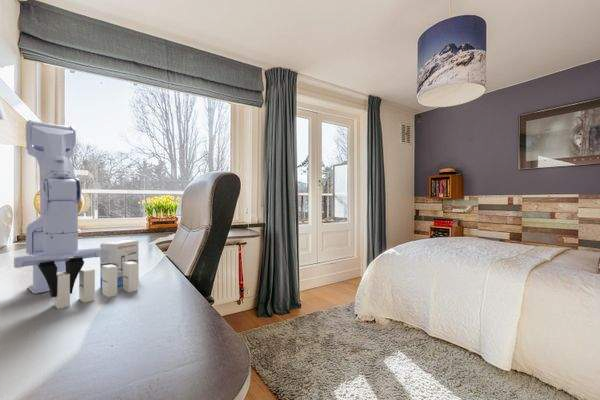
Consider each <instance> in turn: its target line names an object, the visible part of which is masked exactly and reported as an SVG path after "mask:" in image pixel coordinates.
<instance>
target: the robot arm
mask: <svg viewBox="0 0 600 400" xmlns="http://www.w3.org/2000/svg"><path fill="white" fill-rule="evenodd" d="M76 134H77V133H76V129H75V127H74V126H72V125H70V126H67V125H60V124H54V123H47V122H41V121H35V120H32V119H28V120H26V122H25V145H26V146H25V149H26V151H27V155H30V156H31V157H33V158H36V161H37V164H38V166H39V167H38V168H39V203H40V204H39V206H40V207H39V213H40V214H39V215H40V217H39V218H37V219H36V220H33V221H32V222H30V223H29V224H28V225H27V226H26V229H25V232H26V233H25V253H26V254H27V255H23V256H16V257H13V267H14V268H15V269H19V268H23V267H29V266H32V284H29V285H27V288H28V289H29V290H30V291H31V293H32V294H36V295H37V294H40V293H46V292H49V294H50V297H51V298H54V297H57V285H56V277H57V272H64V271H66V272H67V273H69V274H70V295H72V294H73V291H74V290H73V289H74V287H75V283H76V280H77V278H78V276H79V271H80V270H81V269H83V266H84V264H85V261H84V259H91V258H100V257H101V249H100V247H97V248H88V249H87V248H86V249H84V248H83V249H78V248H79V241H78V240H79V238H78V237H79V233H78V232H79V231H78V230H79V228H78V227H79V226H78V225H79V223H78V221H79V219H78V217H79V214H78V213H79V211H78V209H79V204H80V203H81V199H82V185H81V181H80V179H79V178H78V177H77V176H76V175H75V170H74V164H73V162H72V161H71V160H70V158H72V155H73V154H74V150H75V147H76V142H77V141H76V140H77V135H76Z"/></svg>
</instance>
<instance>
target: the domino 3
mask: <svg viewBox="0 0 600 400" xmlns="http://www.w3.org/2000/svg"><path fill="white" fill-rule="evenodd" d="M101 288H102V289H101V290H102V291H101V292H102V293H101V294H102V296H105V297H107V298H110V297H115V296H118V287H117V266H115V265H112V264H109V265H103V266H102V287H101Z"/></svg>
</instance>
